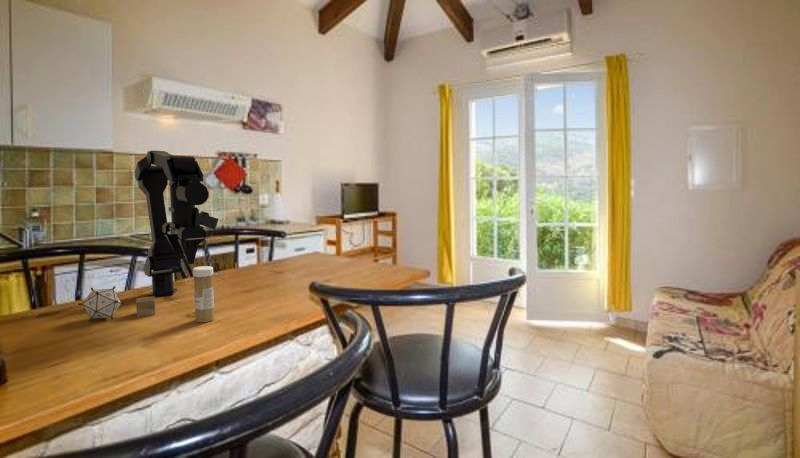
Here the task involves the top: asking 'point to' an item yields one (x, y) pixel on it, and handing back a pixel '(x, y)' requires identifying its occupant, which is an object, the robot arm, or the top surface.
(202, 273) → the sprinkles bottle
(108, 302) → the game die
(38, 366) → the top surface
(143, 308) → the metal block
